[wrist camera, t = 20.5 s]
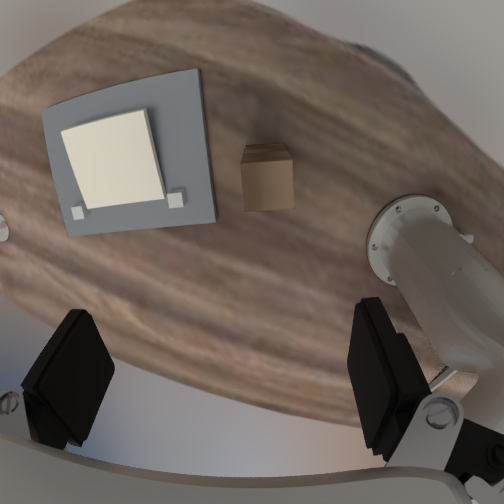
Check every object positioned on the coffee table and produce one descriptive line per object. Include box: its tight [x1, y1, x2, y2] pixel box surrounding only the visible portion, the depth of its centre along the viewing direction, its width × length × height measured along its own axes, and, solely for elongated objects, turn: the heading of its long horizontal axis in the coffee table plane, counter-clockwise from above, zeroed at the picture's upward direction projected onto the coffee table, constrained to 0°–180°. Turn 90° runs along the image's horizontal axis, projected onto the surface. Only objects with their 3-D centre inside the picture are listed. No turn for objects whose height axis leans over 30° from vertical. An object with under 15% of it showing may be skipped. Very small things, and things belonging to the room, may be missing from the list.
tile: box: [61, 108, 166, 209], centre depth 30 cm, size 10×10×1 cm
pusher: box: [241, 143, 295, 212], centre depth 29 cm, size 4×4×10 cm
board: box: [41, 68, 217, 237], centre depth 32 cm, size 20×17×3 cm
